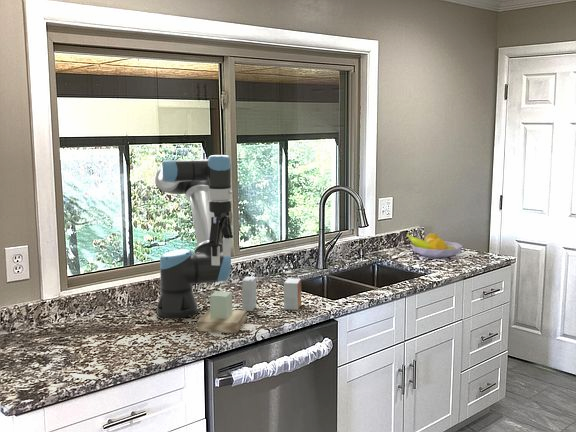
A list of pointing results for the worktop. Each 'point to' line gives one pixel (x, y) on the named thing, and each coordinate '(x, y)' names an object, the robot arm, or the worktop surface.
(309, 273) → the worktop surface
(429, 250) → the fruit bowl
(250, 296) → the skincare box
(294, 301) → the small box
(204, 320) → the birch block
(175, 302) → the robot arm
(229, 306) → the sage block
